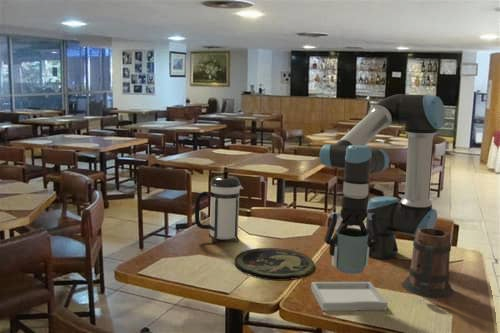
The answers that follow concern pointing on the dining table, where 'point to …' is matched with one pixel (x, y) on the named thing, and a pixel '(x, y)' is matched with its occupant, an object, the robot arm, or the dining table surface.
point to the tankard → (430, 264)
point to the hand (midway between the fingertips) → (349, 265)
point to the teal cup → (351, 251)
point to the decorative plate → (274, 263)
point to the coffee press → (222, 207)
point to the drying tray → (348, 296)
